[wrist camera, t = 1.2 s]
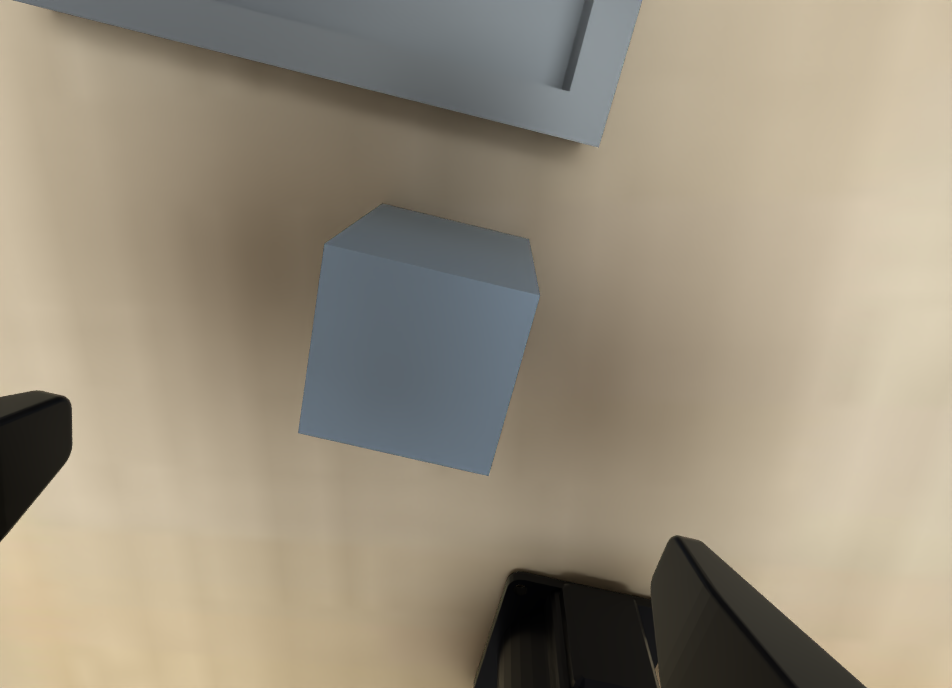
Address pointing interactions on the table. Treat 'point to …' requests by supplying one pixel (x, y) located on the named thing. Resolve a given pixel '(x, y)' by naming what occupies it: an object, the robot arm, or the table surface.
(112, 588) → the table surface
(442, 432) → the block
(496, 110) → the tray
